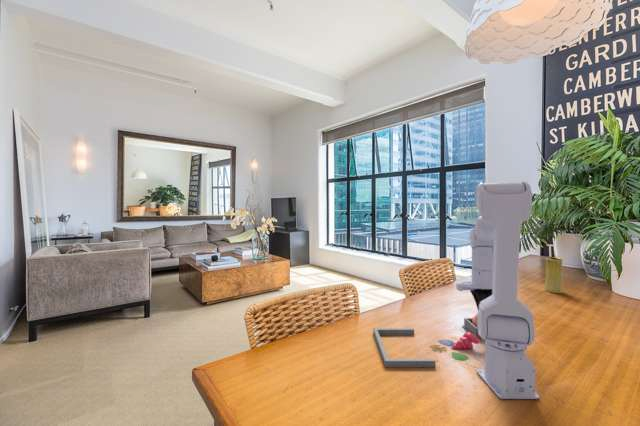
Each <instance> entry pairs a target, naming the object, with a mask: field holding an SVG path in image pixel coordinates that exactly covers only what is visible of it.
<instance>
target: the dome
mask: <svg viewBox="0 0 640 426" xmlns="http://www.w3.org/2000/svg"><path fill="white" fill-rule="evenodd" d="M477 314H478V313H477ZM477 314H475V316H473V317H471V318H472V323H473V324H474V325H475V326H476V327H477Z"/></svg>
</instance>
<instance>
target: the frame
mask: <svg viewBox="0 0 640 426" xmlns="http://www.w3.org/2000/svg"><path fill="white" fill-rule="evenodd" d="M372 329H373V330H372V331H373V336H374V339H375V342H376V344H377V348H378V350H379V353H380V356H381V358H382V361H383V365H384V366H385V368H436V367H437V366H436V361H437V360H436V359H435V358H389V356H388V354H387V350H386V349H385V346H384V342H383V341H382V338H381V336H382V335H384V336H385V335H389V336H390V335H401V336H402V335H403V336H404V335H405V336H406V335H411V336H412V335H415V328H413V327H399V328H398V327H391V328H390V327H388V328H387V327H383V328H382V327H376V328H374V327H373V328H372ZM380 335H381V336H380Z"/></svg>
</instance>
